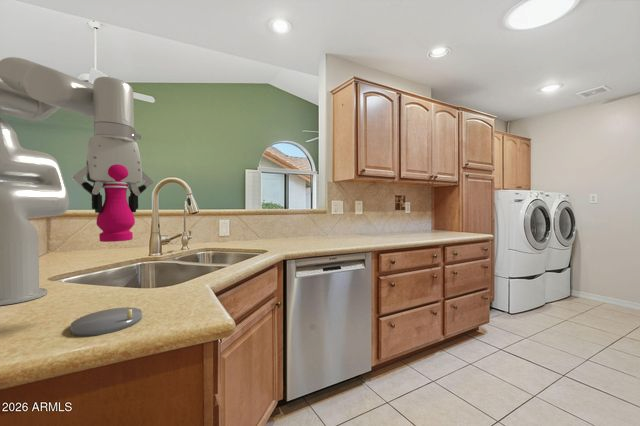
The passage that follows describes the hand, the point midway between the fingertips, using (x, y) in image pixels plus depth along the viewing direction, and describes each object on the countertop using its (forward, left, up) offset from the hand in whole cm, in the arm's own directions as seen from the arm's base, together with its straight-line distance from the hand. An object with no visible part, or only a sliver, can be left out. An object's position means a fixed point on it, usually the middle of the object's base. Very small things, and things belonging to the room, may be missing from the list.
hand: (116, 211), depth 64 cm
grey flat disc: (+3, -5, -24) cm, 25 cm away
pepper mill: (0, 0, -7) cm, 7 cm away
